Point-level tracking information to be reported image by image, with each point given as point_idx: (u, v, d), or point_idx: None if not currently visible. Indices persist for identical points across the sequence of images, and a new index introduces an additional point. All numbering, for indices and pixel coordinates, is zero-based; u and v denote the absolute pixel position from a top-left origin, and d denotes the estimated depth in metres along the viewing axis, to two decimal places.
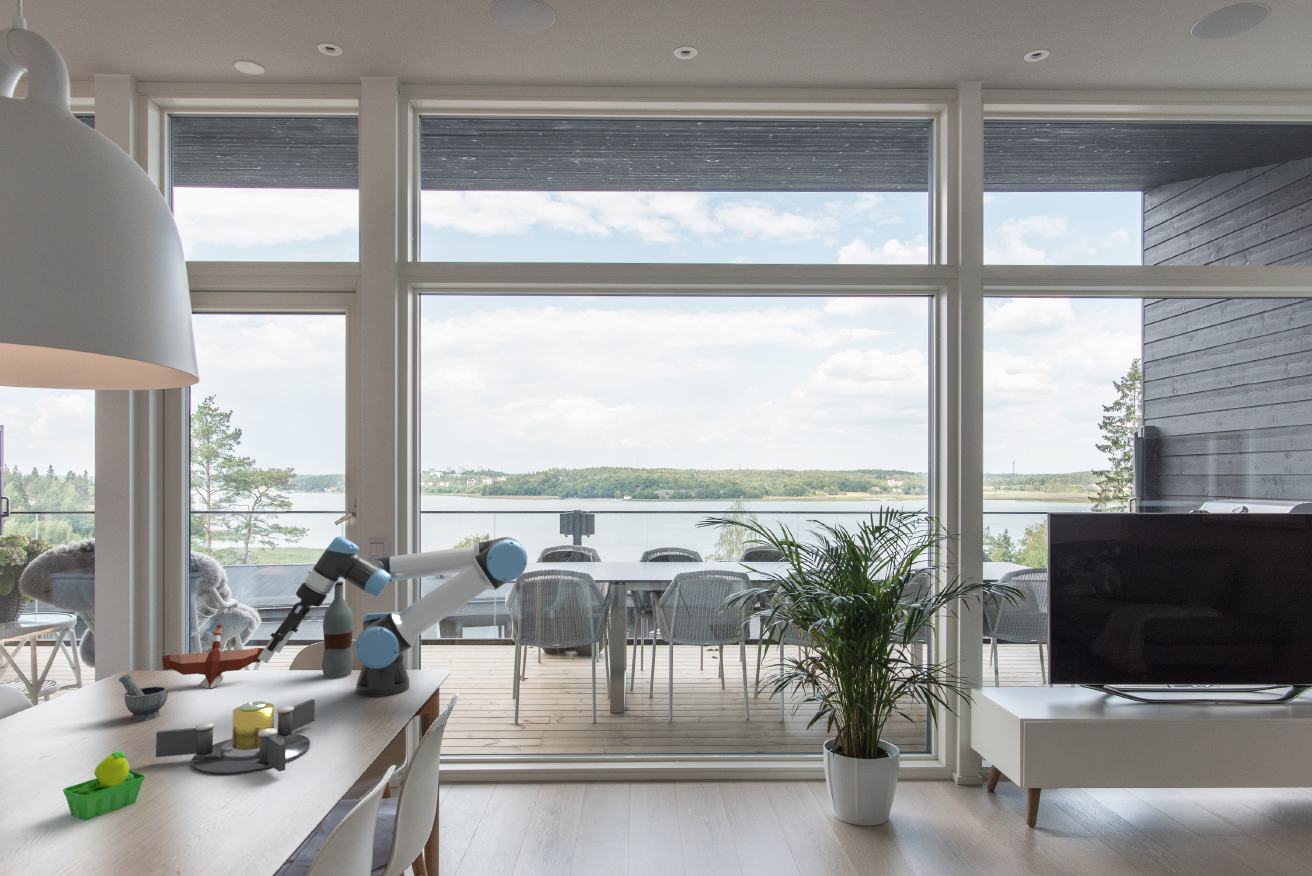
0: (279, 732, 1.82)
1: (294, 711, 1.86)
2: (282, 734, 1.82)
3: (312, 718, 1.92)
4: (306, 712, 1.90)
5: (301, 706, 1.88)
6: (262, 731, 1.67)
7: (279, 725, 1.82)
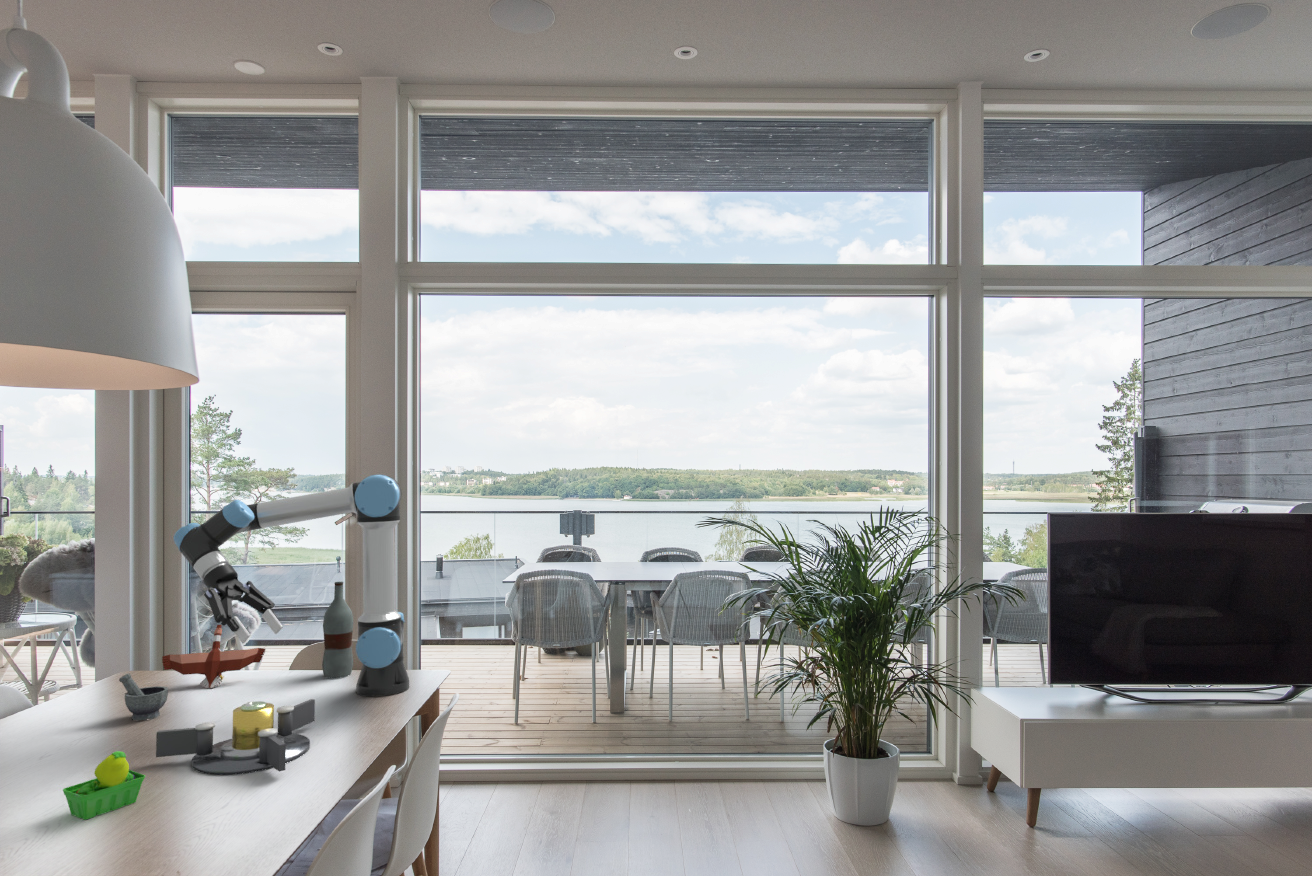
0: (279, 732, 1.82)
1: (294, 711, 1.86)
2: (282, 734, 1.82)
3: (312, 718, 1.92)
4: (306, 712, 1.90)
5: (301, 706, 1.88)
6: (262, 731, 1.67)
7: (279, 725, 1.82)
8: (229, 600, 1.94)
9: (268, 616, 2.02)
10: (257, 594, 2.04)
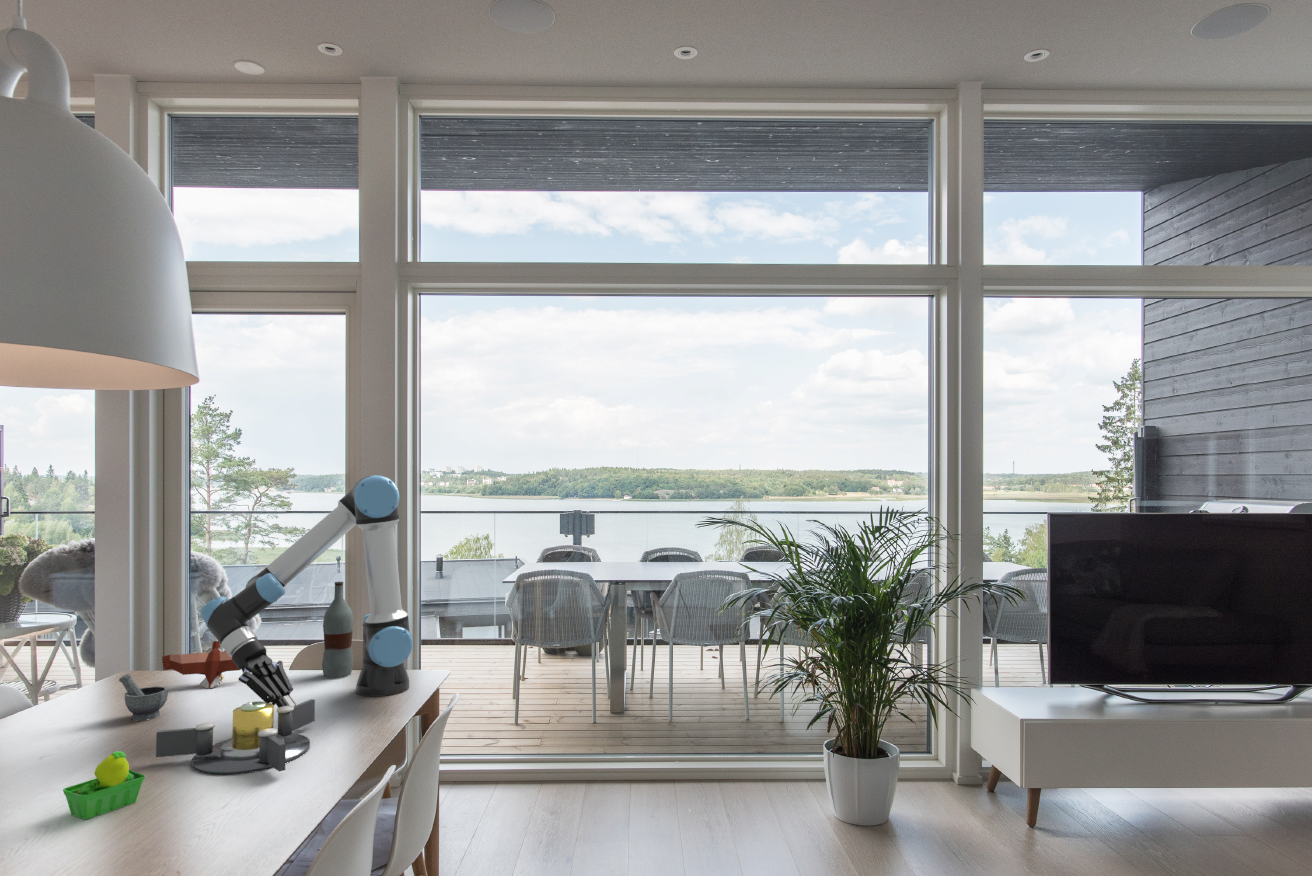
0: (279, 732, 1.82)
1: (294, 711, 1.86)
2: (282, 734, 1.82)
3: (312, 718, 1.92)
4: (306, 712, 1.90)
5: (301, 706, 1.88)
6: (262, 731, 1.67)
7: (279, 725, 1.82)
8: (268, 679, 1.91)
9: None
10: (281, 675, 1.96)
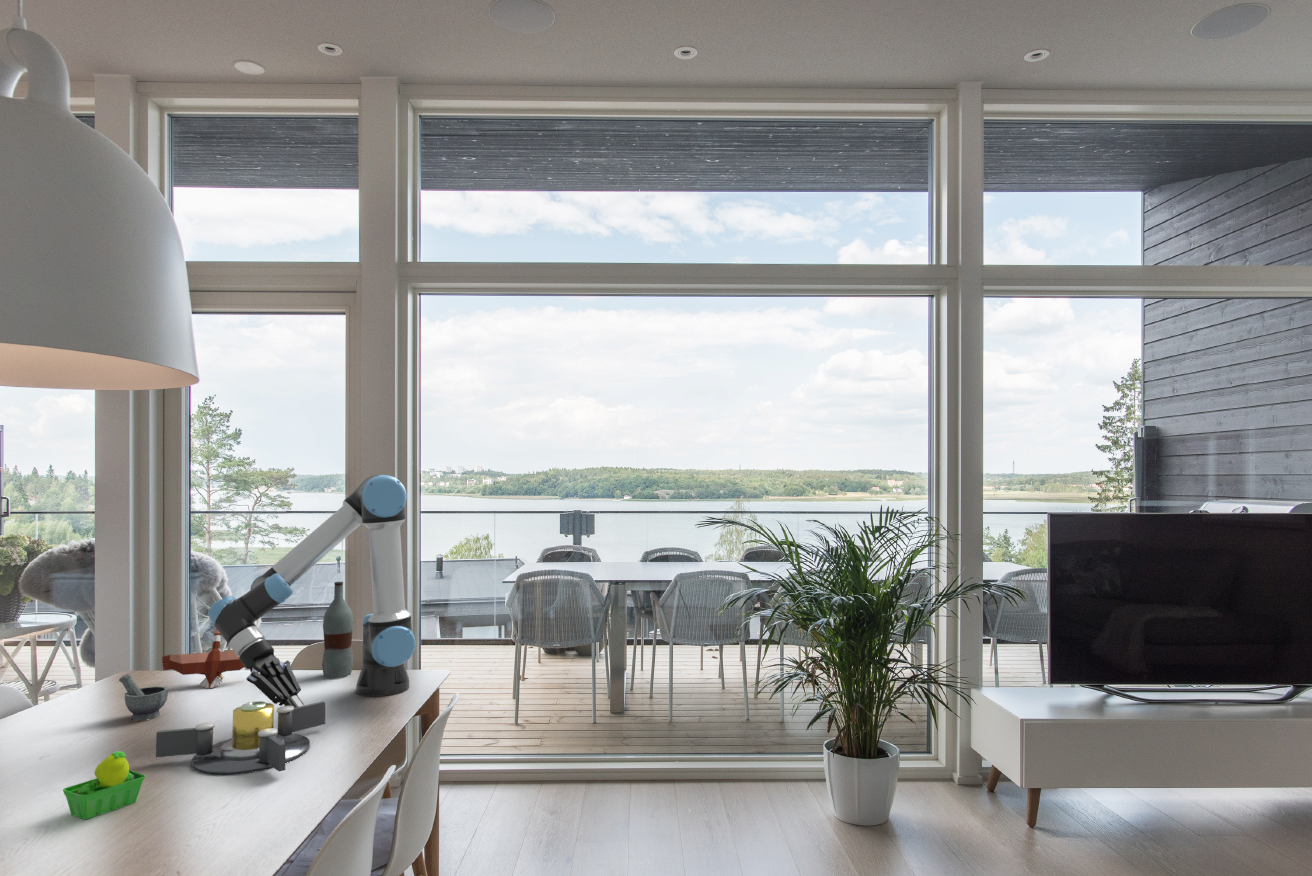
0: None
1: (296, 712, 1.85)
2: (279, 734, 1.82)
3: (322, 720, 1.89)
4: (313, 714, 1.88)
5: (306, 708, 1.87)
6: (262, 731, 1.67)
7: (278, 724, 1.82)
8: (276, 679, 1.90)
9: None
10: (289, 675, 1.95)
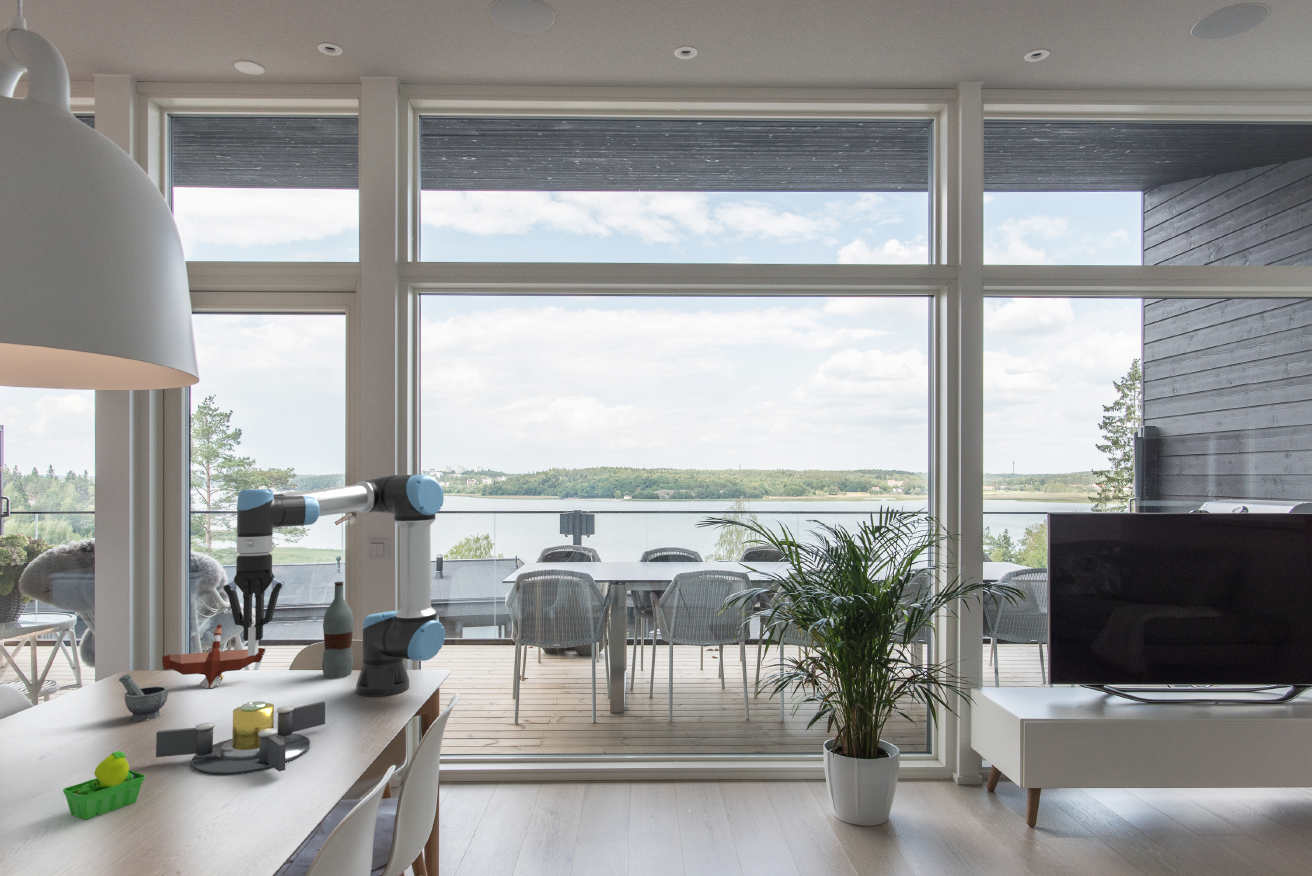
0: None
1: (296, 712, 1.85)
2: (279, 734, 1.82)
3: (322, 720, 1.89)
4: (313, 714, 1.88)
5: (306, 708, 1.87)
6: (262, 731, 1.67)
7: (278, 724, 1.82)
8: None
9: None
10: (238, 600, 1.78)
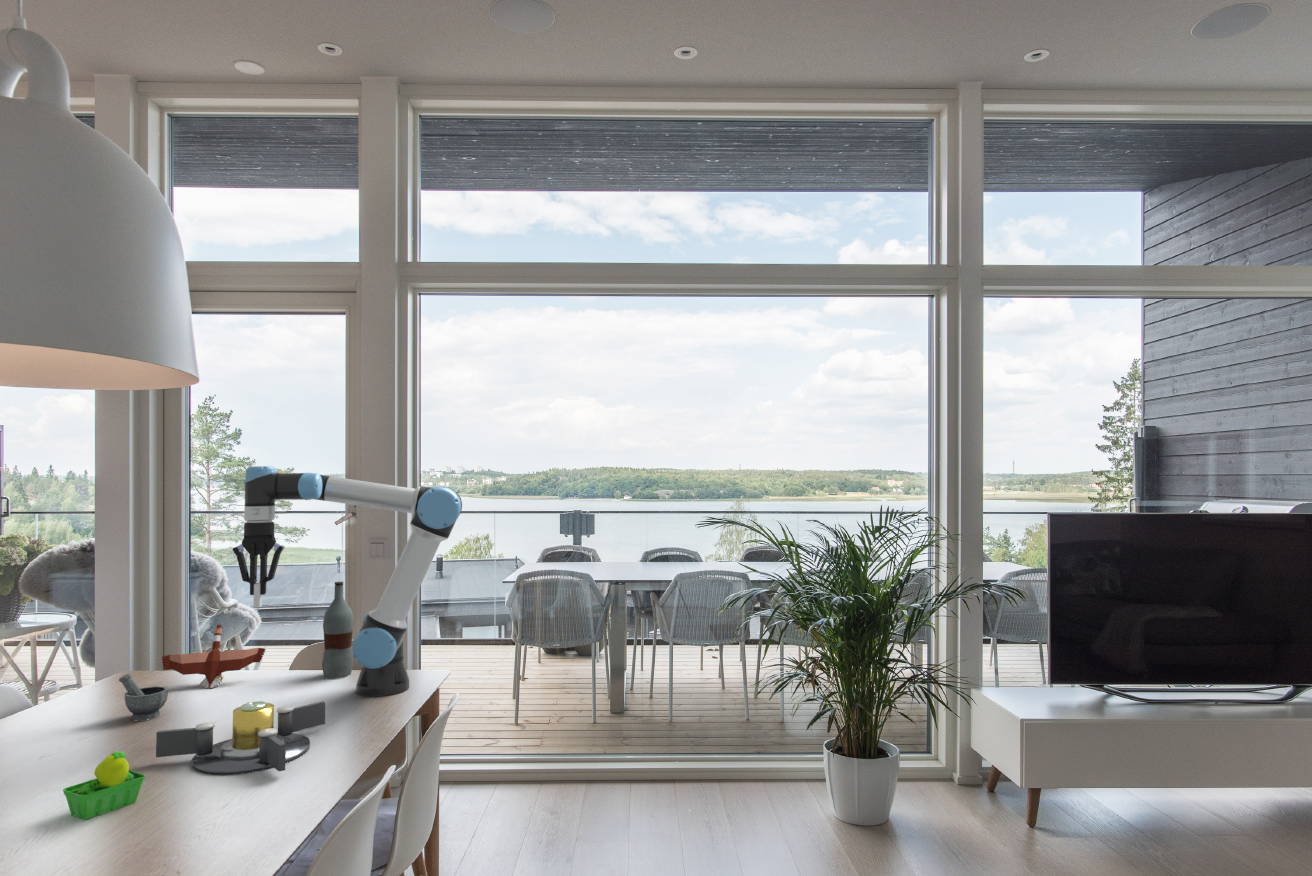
0: None
1: (296, 712, 1.85)
2: (279, 734, 1.82)
3: (322, 720, 1.89)
4: (313, 714, 1.88)
5: (306, 708, 1.87)
6: (262, 731, 1.67)
7: (278, 724, 1.82)
8: None
9: None
10: (245, 561, 2.08)
